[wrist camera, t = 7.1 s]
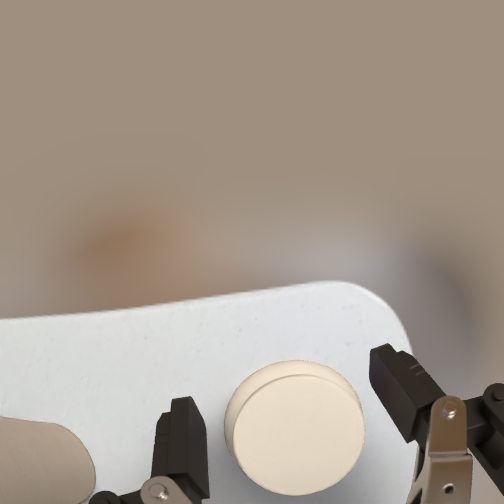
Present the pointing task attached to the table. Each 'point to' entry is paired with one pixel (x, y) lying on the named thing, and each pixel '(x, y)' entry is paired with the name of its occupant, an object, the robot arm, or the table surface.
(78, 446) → the coffee cup
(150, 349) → the table surface
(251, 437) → the pill bottle
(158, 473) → the robot arm
